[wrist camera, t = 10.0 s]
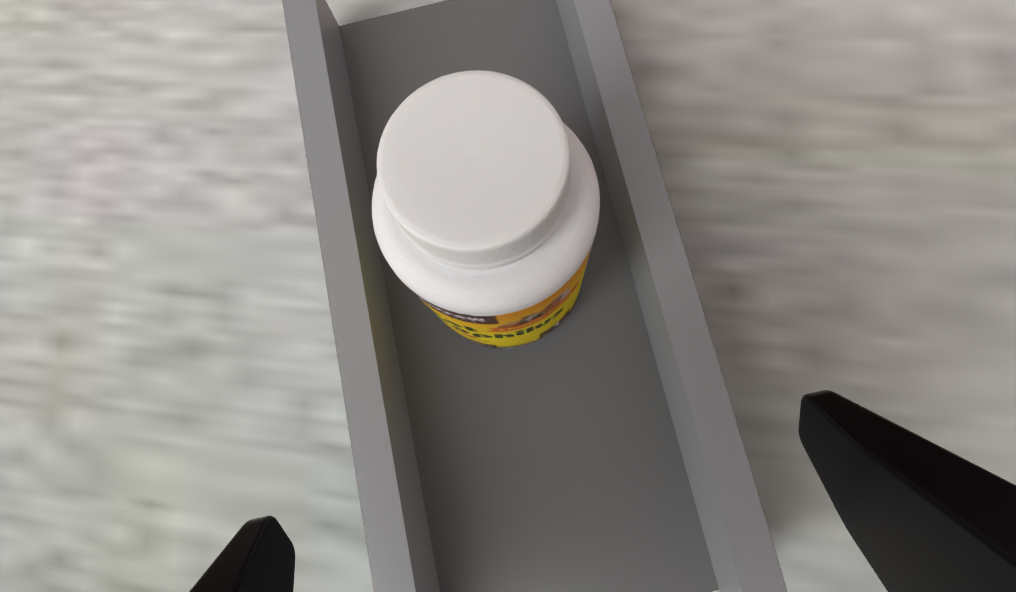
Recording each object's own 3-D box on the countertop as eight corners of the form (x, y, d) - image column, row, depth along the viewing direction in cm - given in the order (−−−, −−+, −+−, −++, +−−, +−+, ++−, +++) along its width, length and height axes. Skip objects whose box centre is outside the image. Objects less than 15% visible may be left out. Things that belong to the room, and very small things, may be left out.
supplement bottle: (428, 351, 21) (322, 291, 11) (434, 207, 22) (343, 36, 12) (583, 353, 21) (615, 290, 11) (581, 206, 22) (609, 26, 12)
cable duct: (745, 573, 20) (793, 611, 16) (421, 644, 20) (390, 699, 16) (576, -14, 25) (581, -94, 21) (320, 48, 25) (279, -20, 21)
